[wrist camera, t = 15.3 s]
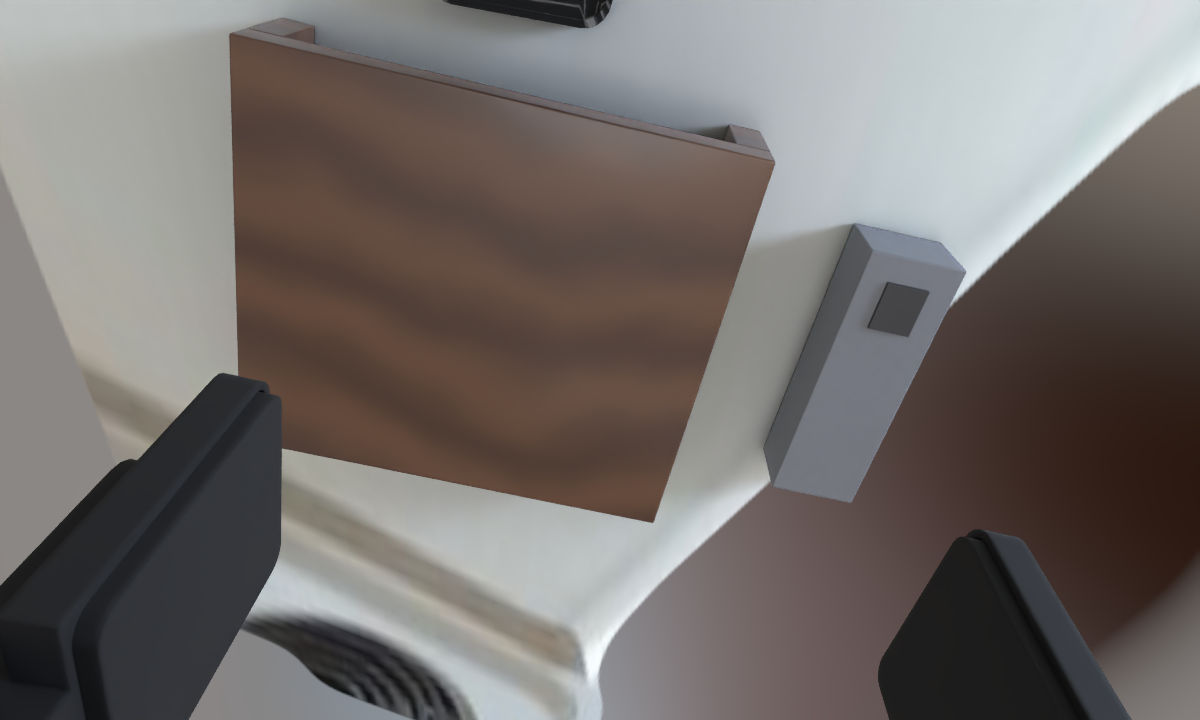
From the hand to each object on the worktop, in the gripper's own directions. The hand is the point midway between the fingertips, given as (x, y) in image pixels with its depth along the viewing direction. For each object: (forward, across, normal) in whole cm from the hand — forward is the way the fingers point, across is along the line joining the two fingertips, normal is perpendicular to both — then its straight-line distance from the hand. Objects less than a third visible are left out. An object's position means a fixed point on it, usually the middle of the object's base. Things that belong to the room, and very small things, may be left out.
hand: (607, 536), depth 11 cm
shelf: (+28, +5, +10) cm, 30 cm away
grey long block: (+28, -14, +10) cm, 33 cm away
